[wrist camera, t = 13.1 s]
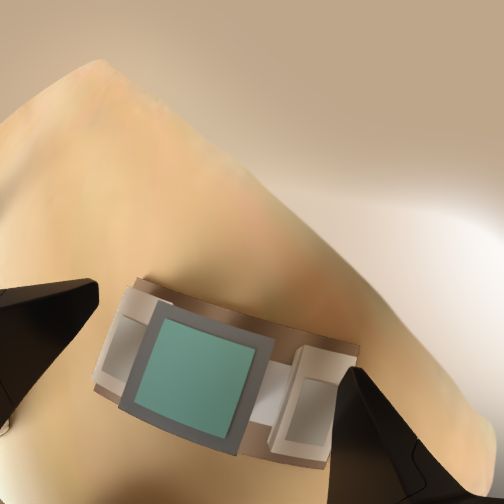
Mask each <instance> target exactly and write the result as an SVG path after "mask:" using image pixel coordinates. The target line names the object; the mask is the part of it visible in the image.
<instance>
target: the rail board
mask: <svg viewBox="0 0 504 504" xmlns="http://www.w3.org/2000/svg"><path fill="white" fill-rule="evenodd" d="M158 300H161V301H163V302H166V303H168V304H171V305H174V306H176V307H179V308H182V309H184V310H187V311H190V312H193V313H196V314H198V315H201V316H204V317H207V318H210V319H213V320H216V321H219V322H222V323H225V324H228V325H231V326H234V327H237V328H240V329H243V330H246V331H250V332H253V333H256V334H259V335H263V336H266V337H269V338H273V339H276V340H275V343H274V346H273V349H272V353H271V356H270V359H269V362H268V365H267V369H266V372H265V375H264V378H263V381H262V384H261V387H260V390H259V393H258V396H257V399H256V402H255V405H254V408H253V411H252V414H251V416H250V419H249V422H248V425H247V428H246V431H245V433H244V436H243V439H242V442H241V444H240V447H239V450H238V452H237V453H240V454H244V455H248V456H251V457H255V458H260V459H264V460H268V461H273V462H278V463H283V464H288V465H294V466H300V467H306V468H313V469H321V470H324V468H325V465H326V463H327V460H328V457H329V454H330V452H331V441H332V425H333V418H334V412H335V404H336V397H337V389H338V386H339V383H340V381H341V380H342V378H343V376H344V375H345V373H346V371H347V370H348V368H349V367H351V366H355V367H356V362H357V358H358V353H359V349H360V345H356V344H352V343H348V342H344V341H340V340H336V339H332V338H328V337H324V336H320V335H316V334H312V333H308V332H304V331H301V330H297V329H293V328H290V327H286V326H283V325H279V324H276V323H272V322H269V321H265V320H262V319H259V318H255V317H252V316H249V315H245V314H242V313H239V312H236V311H233V310H229V309H226V308H223V307H220V306H217V305H214V304H211V303H208V302H205V301H202V300H199V299H196V298H193V297H190V296H187V295H184V294H182V293H179V292H176V291H173V290H170V289H167V288H165V287H162V286H159V285H157V284H154V283H151V282H148V281H146V280H143V279H141V278H138V277H137V279H136V281H135V284H134V286H133V288H132V287H130V286H127V288H126V290H125V292H124V295H123V297H122V299H121V301H120V304H119V306H118V309H117V311H116V313H115V316H114V318H113V321H112V323H111V326H110V328H109V331H108V333H107V336H106V339H105V341H104V344H103V347H102V349H101V352H100V355H99V358H98V361H97V364H96V366H95V369H94V372H93V375H92V378H91V380H92V381H94V382H95V383H96V385H95V388H94V391H95V392H97V393H98V394H100V395H102V396H104V397H105V398H107V399H109V400H111V401H112V402H114V403H116V404H118V405H119V403H120V400H121V397H122V394H123V391H124V388H125V385H126V382H127V380H128V377H129V374H130V371H131V368H132V366H133V363H134V360H135V357H136V355H137V352H138V349H139V347H140V344H141V342H142V339H143V336H144V334H145V331H146V329H147V326H148V324H149V321H150V319H151V316H152V314H153V311H154V309H155V306H156V304H157V302H158Z"/></svg>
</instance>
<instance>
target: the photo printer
mask: <svg viewBox="0 0 504 504" xmlns="http://www.w3.org/2000/svg"><path fill="white" fill-rule="evenodd" d="M8 425H9V420H7V421H6V423H5V424H4V425H3V427H2V428H1V430H0V436H1V435H2V434H4V433H5V432H6V431H7V430H8V429H9V427H8Z"/></svg>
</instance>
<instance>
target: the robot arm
mask: <svg viewBox="0 0 504 504" xmlns="http://www.w3.org/2000/svg"><path fill="white" fill-rule="evenodd" d="M98 305H99V286H98V283H97V282H96V281H94V280H92V279H90V278H85V279H77V280H70V281H62V282H54V283H47V284H39V285H32V286H24V287H16V288H9V289H0V430H1V428H2V427H3V425H4V424H5V423H6V421H7V420H8V418H9V417H10V416H11V414H12V413H13V412H14V410H15V408H16V407H17V406H18V405H19V403H20V402H21V401H22V400H23V398H24V397H25V396H26V394H27V393H28V392H29V391H30V389H31V388H32V387H33V386H34V384H35V383H36V382H37V381H38V379H39V378H40V377H41V376H42V375H43V373H44V372H45V371H46V370H47V369H48V367H49V366H50V365H51V364H52V363H53V361H54V360H55V359H56V358H57V357H58V356H59V355H60V353H61V352H62V351H63V350H64V349H65V348H66V347H67V345H68V344H69V343H70V342H71V341H72V340H73V339H74V337H75V336H76V335H77V334H78V333H79V331H80V330H81V329H82V327H83V326H84V324H85V323H86V322H87V320H88V319H89V318H90V316H91V315H92V314H93V312H94V311H95V310H96V308H97V307H98ZM417 438H418V437H417V436H416V435H415V433H414V432H413V431H412V429H411V428H410V427H409V426H408V424H407V423H406V422H405V421H404V419H403V418H402V417H401V416H400V414H399V413H398V412H397V411H396V409H395V408H394V407H393V406H392V404H391V403H390V402H389V401H388V399H387V398H386V397H385V396H384V394H383V393H382V392H381V391H380V390H379V388H378V387H377V386H376V385H375V383H374V382H373V381H372V380H371V378H370V377H369V376H368V375H367V373H366V372H365V371H364V370H363V369H362V368H359V367H355V366H351V367H349V368H348V370H347V371H346V373H345V375H344V376H343V378H342V380H341V381H340V383H339V386H338V389H337V397H336V404H335V412H334V418H333V425H332V441H331V461H330V476H329V488H328V499H327V504H504V499H503V498H492V497H483V496H477V495H474V494H472V493H470V492H468V491H466V490H465V489H464V488H463V487H462V486H461V485H460V484H459V483H458V482H457V481H456V480H455V479H454V478H453V477H452V476H451V475H450V474H449V473H448V472H447V471H446V470H445V469H444V467H443V466H442V465H441V464H440V463H439V462H438V461H437V460H436V459H435V458H434V457H433V455H432V454H431V453H430V452H429V451H428V449H427V448H426V447H425V446H424V445H423V443H422V442H421V441H420V439H417ZM0 504H4V503H3V502H2V501H1V499H0Z"/></svg>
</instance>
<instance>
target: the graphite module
mask: <svg viewBox="0 0 504 504" xmlns="http://www.w3.org/2000/svg"><path fill="white" fill-rule="evenodd" d="M275 340H276V339H273V338H269V337H266V336H263V335H259V334H256V333H253V332H250V331H246V330H243V329H240V328H237V327H234V326H231V325H228V324H225V323H222V322H219V321H216V320H213V319H210V318H207V317H204V316H201V315H198V314H196V313H193V312H190V311H187V310H184V309H182V308H179V307H176V306H174V305H171V304H168V303H166V302H163V301H161V300H158V302H157V304H156V306H155V309H154V311H153V314H152V316H151V319H150V321H149V324H148V326H147V329H146V331H145V334H144V336H143V339H142V342H141V344H140V347H139V349H138V352H137V355H136V357H135V360H134V363H133V366H132V368H131V371H130V374H129V377H128V380H127V382H126V385H125V388H124V391H123V394H122V397H121V400H120V403H119V406H118V408H119V409H121V410H123V411H125V412H127V413H128V414H130V415H132V416H134V417H136V418H138V419H140V420H142V421H144V422H147V423H149V424H151V425H153V426H155V427H157V428H160V429H162V430H164V431H166V432H169V433H171V434H174V435H176V436H178V437H181V438H183V439H186V440H189V441H191V442H194V443H197V444H199V445H202V446H205V447H208V448H211V449H214V450H217V451H220V452H223V453H227V454H230V455H233V456H236V455H237V452H238V450H239V447H240V444H241V442H242V439H243V436H244V433H245V431H246V428H247V425H248V422H249V419H250V416H251V414H252V411H253V408H254V405H255V402H256V399H257V396H258V393H259V390H260V387H261V384H262V381H263V378H264V375H265V372H266V369H267V365H268V362H269V359H270V356H271V353H272V349H273V346H274V343H275Z"/></svg>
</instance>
